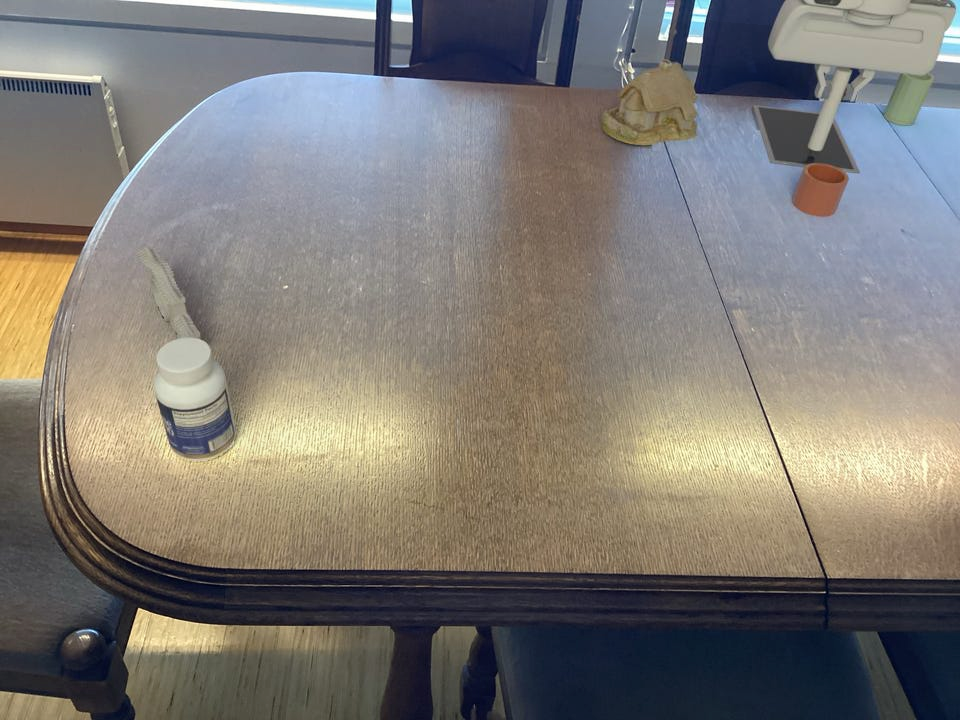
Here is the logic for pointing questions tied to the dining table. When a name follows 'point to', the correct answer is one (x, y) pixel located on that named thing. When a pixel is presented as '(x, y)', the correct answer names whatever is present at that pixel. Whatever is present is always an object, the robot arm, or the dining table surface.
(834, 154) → the tablet
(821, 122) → the stylus
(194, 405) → the pill bottle
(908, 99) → the pen cup
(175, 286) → the beige ridged long part
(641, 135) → the ceramic model
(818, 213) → the cup
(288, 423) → the dining table surface
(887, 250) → the dining table surface
